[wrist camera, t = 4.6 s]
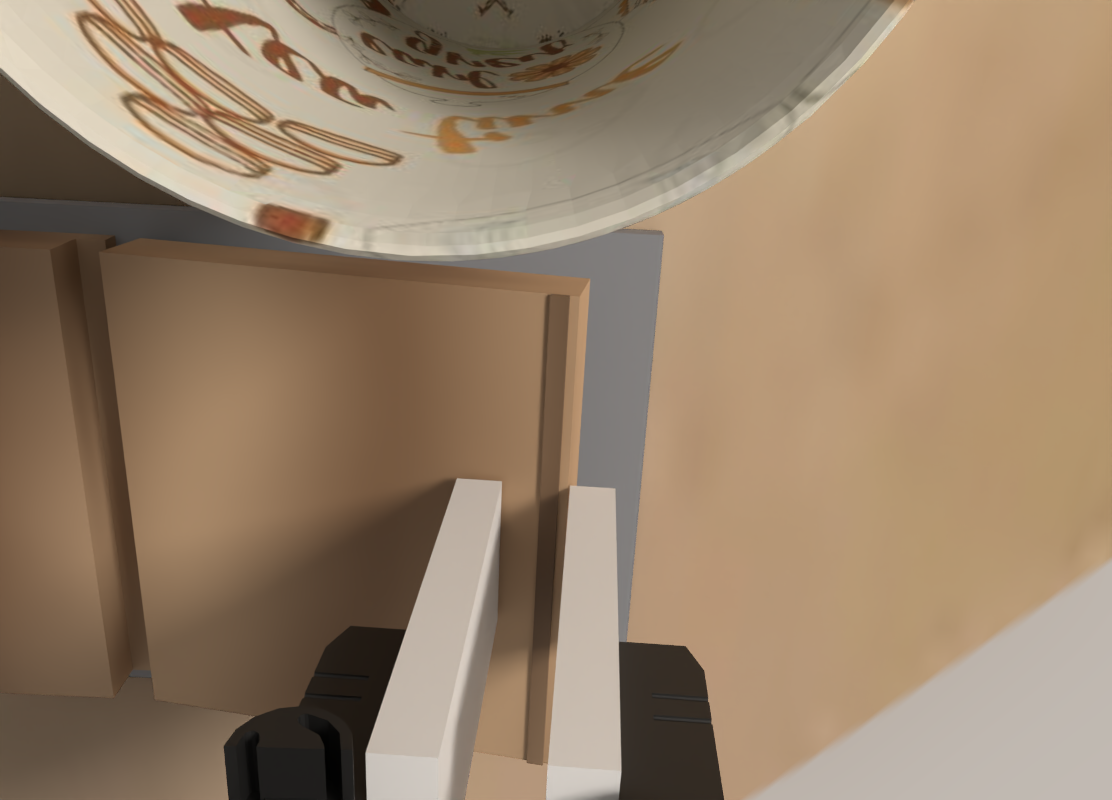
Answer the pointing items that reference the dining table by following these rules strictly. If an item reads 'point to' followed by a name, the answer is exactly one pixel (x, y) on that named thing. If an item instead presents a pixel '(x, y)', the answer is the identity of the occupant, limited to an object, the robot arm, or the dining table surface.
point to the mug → (435, 107)
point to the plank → (338, 459)
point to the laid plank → (62, 477)
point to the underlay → (608, 261)
